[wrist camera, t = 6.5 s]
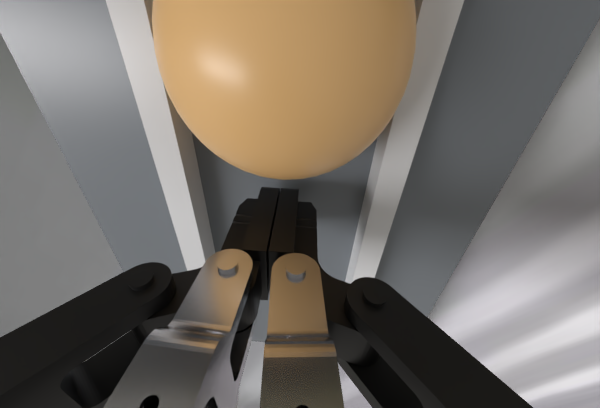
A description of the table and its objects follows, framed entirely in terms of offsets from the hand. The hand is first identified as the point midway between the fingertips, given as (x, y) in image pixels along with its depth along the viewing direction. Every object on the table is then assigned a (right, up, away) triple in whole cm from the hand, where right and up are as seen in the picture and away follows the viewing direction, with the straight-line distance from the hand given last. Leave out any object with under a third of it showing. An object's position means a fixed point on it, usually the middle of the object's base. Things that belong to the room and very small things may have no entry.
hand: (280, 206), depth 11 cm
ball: (0, +4, -4) cm, 6 cm away
